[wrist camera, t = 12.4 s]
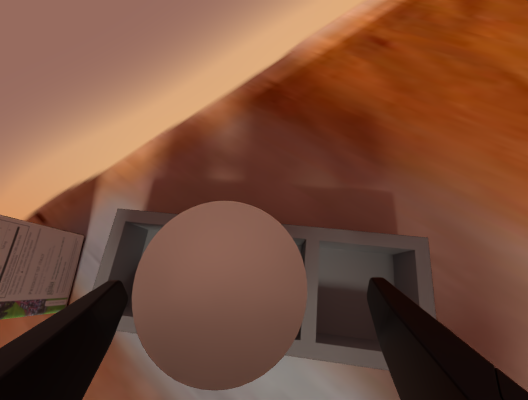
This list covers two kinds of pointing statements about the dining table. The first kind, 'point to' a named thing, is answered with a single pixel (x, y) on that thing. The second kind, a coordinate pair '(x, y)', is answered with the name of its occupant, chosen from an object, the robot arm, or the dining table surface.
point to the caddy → (318, 282)
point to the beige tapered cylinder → (219, 295)
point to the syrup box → (35, 267)
